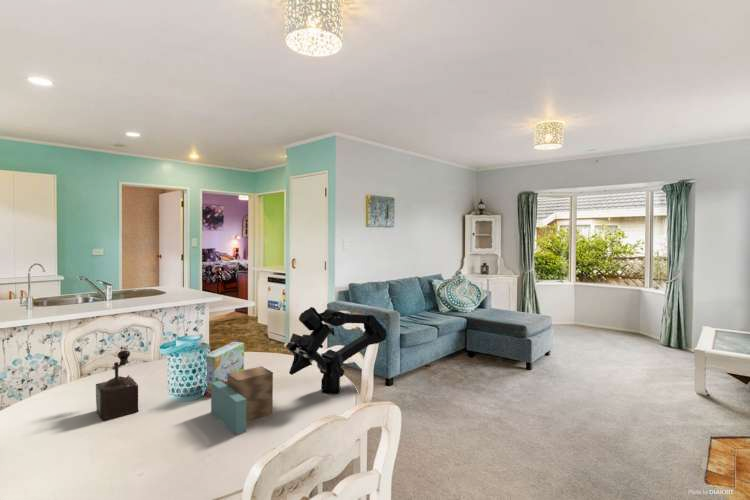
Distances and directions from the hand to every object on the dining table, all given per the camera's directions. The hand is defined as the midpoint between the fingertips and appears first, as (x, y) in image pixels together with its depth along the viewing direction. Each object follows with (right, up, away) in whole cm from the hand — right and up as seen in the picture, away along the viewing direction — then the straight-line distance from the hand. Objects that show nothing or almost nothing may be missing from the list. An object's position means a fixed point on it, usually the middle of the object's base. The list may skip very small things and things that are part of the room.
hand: (290, 374), depth 144 cm
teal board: (-17, -11, -15) cm, 25 cm away
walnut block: (-11, -11, -10) cm, 18 cm away
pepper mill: (-57, -10, -7) cm, 58 cm away
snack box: (-29, -10, +14) cm, 34 cm away
